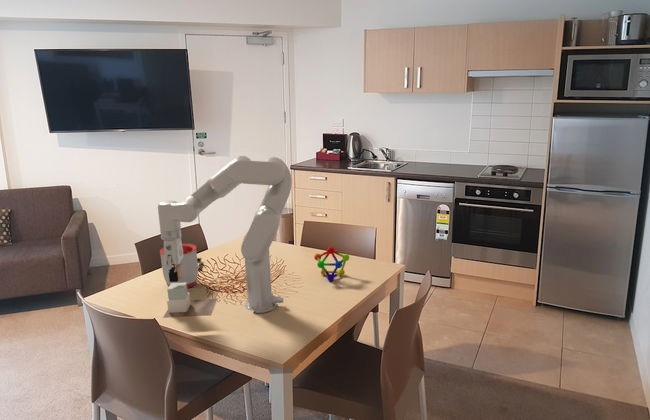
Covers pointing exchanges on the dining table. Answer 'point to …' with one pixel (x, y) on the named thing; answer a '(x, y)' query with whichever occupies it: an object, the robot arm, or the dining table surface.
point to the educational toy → (337, 264)
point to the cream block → (179, 305)
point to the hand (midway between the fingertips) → (175, 278)
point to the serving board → (196, 309)
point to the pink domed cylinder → (178, 271)
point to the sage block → (177, 291)
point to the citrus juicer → (184, 266)
